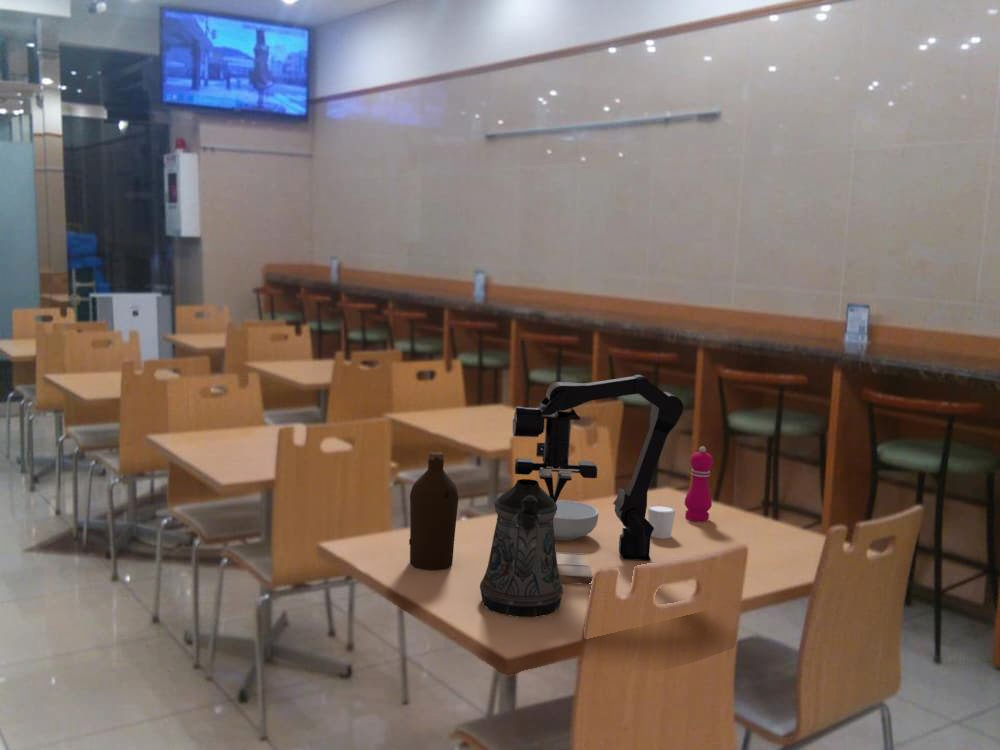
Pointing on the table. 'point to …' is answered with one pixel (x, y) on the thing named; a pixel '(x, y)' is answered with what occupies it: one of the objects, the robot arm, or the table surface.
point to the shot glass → (661, 520)
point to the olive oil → (433, 517)
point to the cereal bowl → (573, 519)
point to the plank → (571, 559)
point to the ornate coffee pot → (523, 554)
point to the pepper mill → (699, 487)
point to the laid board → (575, 574)
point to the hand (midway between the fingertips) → (553, 504)
